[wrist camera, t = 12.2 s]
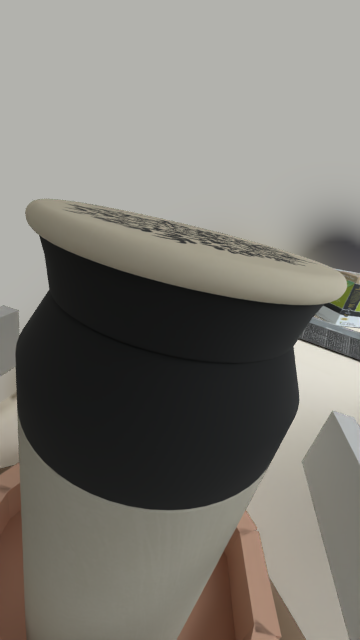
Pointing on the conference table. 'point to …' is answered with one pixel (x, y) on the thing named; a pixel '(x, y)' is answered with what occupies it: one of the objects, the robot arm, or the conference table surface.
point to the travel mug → (148, 411)
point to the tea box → (344, 304)
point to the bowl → (210, 609)
